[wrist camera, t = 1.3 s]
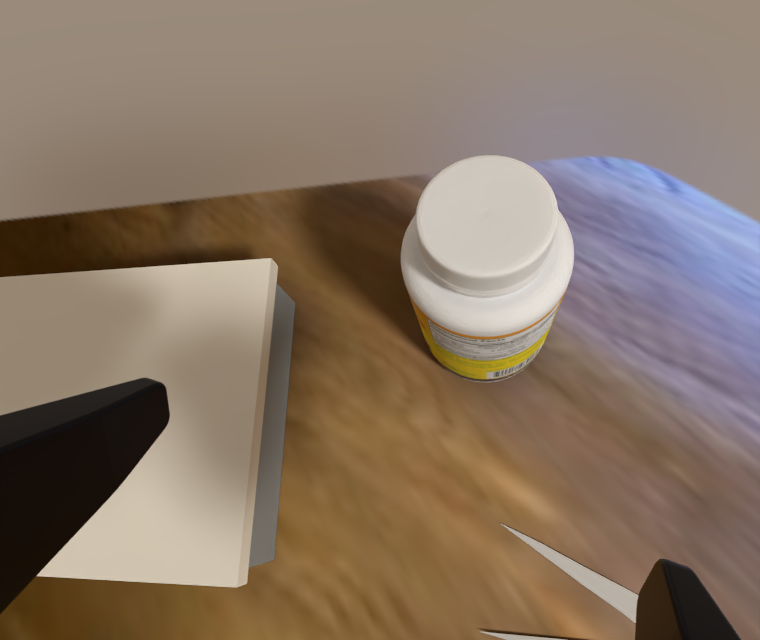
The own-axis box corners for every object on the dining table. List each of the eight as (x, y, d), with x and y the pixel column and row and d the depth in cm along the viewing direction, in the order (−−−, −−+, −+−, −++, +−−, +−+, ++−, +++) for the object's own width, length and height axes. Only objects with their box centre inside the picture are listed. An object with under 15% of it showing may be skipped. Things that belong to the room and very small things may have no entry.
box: (282, 570, 21) (236, 587, 17) (-76, 552, 25) (-182, 563, 21) (303, 295, 25) (271, 258, 22) (-3, 312, 29) (-80, 282, 25)
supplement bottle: (449, 260, 25) (431, 112, 15) (560, 295, 23) (618, 153, 14) (405, 360, 23) (355, 266, 14) (520, 405, 22) (553, 334, 12)
